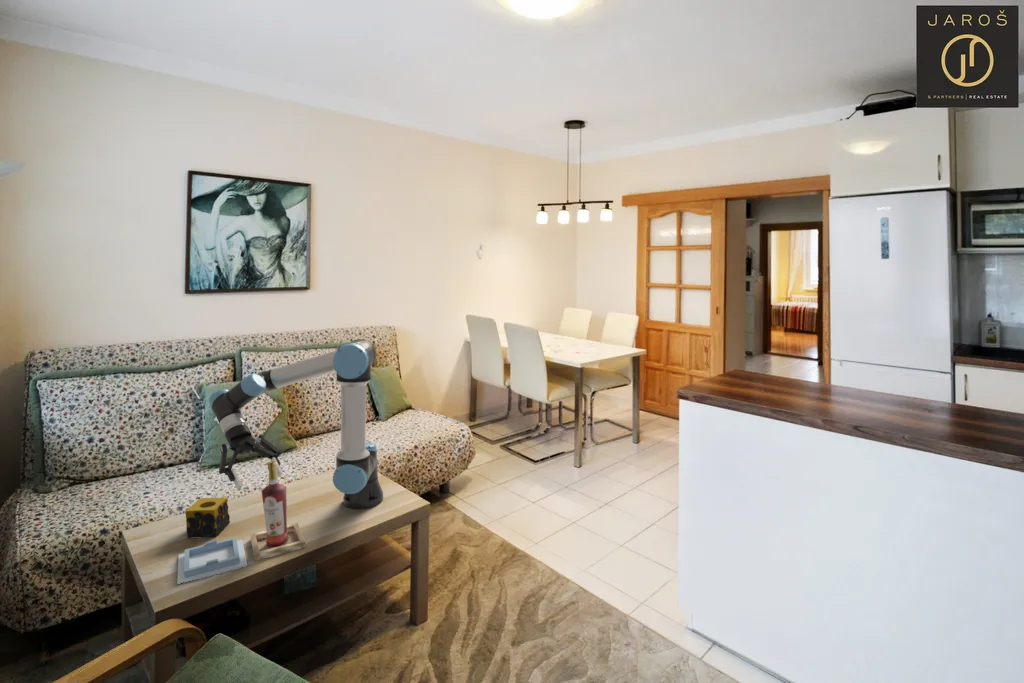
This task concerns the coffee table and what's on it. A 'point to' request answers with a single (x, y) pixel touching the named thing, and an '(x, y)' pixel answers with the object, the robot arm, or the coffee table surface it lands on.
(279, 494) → the liquor
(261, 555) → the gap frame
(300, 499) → the coffee table surface
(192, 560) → the tray
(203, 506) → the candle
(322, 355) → the robot arm
